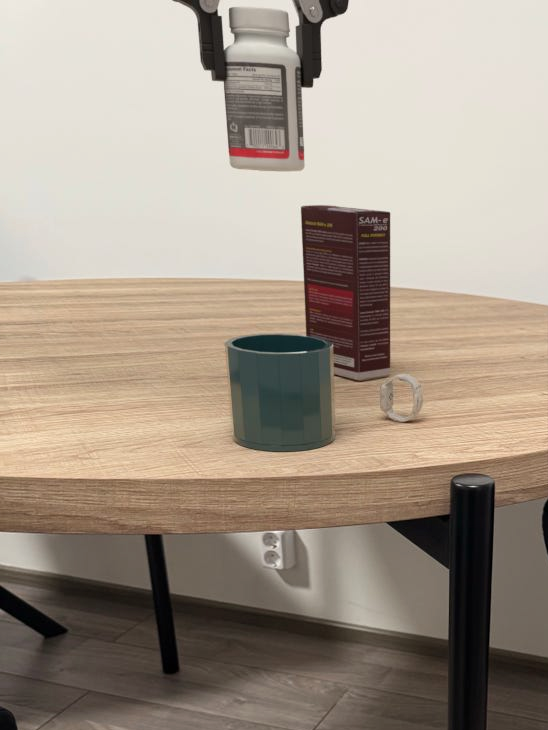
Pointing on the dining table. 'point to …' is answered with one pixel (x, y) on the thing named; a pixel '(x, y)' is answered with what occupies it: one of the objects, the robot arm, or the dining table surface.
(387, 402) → the grey marbled ring
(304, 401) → the cup
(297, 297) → the dining table surface
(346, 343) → the supplement box
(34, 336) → the dining table surface
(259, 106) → the pill bottle
